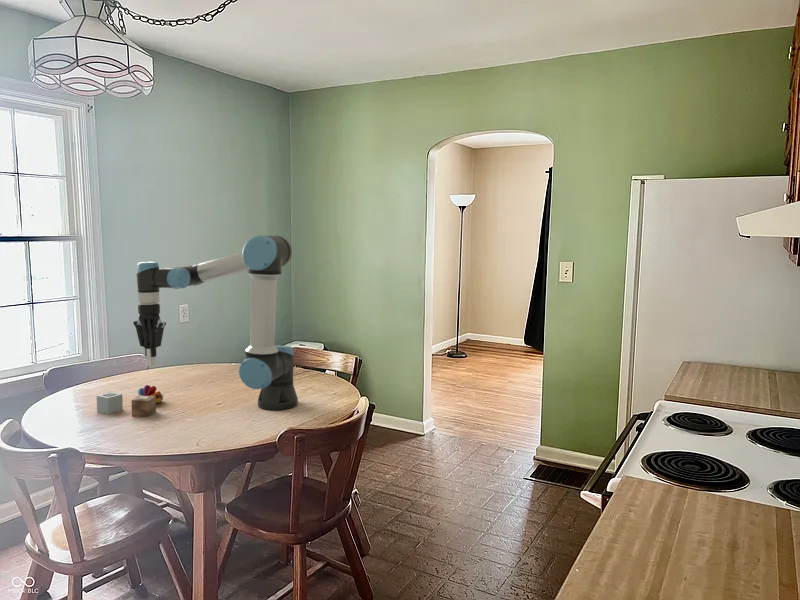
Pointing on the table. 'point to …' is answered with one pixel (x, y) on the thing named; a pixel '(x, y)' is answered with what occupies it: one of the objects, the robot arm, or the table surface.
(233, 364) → the table surface
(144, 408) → the walnut block
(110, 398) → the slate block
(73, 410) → the table surface
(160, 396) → the rainbow segmented toy
